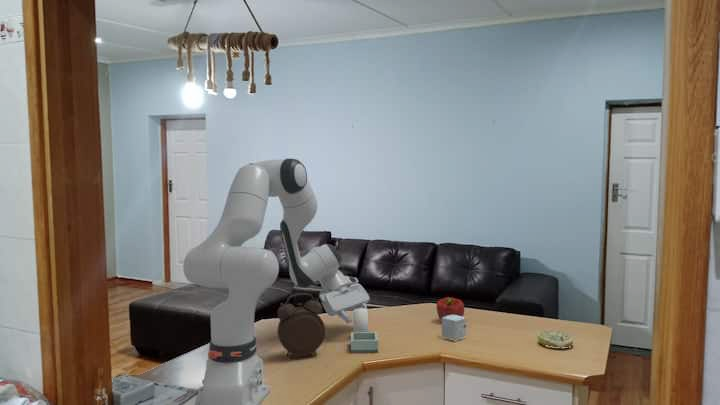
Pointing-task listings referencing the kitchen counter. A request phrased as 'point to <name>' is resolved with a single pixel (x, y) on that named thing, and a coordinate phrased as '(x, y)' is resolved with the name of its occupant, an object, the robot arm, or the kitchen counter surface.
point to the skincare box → (453, 327)
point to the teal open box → (364, 342)
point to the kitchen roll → (360, 319)
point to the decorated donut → (555, 339)
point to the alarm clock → (301, 326)
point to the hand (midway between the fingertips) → (358, 318)
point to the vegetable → (450, 307)
